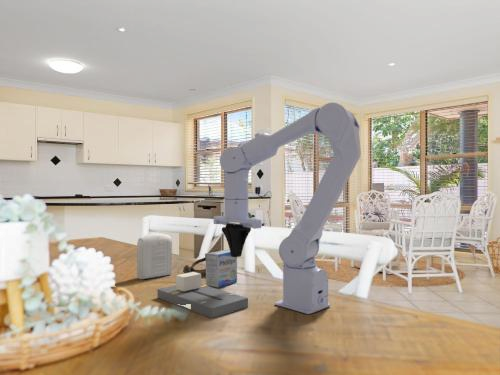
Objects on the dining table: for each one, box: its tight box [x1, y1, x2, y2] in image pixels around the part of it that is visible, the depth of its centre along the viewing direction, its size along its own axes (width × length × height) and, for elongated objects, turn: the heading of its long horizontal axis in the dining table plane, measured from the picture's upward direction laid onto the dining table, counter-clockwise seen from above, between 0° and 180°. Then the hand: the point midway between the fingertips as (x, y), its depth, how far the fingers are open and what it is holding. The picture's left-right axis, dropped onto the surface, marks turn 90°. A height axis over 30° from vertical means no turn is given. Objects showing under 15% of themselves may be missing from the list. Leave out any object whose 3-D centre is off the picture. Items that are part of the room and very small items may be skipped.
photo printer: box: [136, 232, 173, 280], centre depth 114 cm, size 10×4×12 cm, turn 134°
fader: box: [175, 272, 202, 291], centre depth 93 cm, size 3×5×3 cm, turn 135°
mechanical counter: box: [182, 249, 221, 274], centre depth 118 cm, size 7×13×10 cm
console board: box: [156, 283, 249, 319], centre depth 89 cm, size 20×10×2 cm, turn 45°
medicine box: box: [205, 249, 238, 289], centre depth 106 cm, size 8×4×9 cm, turn 143°
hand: (236, 256), depth 94 cm, fingers closed
